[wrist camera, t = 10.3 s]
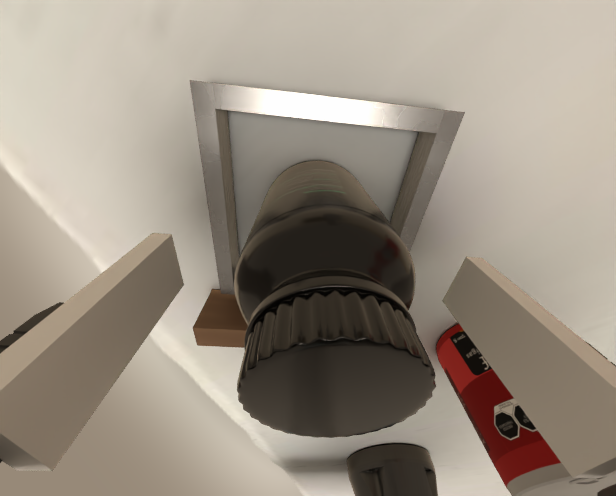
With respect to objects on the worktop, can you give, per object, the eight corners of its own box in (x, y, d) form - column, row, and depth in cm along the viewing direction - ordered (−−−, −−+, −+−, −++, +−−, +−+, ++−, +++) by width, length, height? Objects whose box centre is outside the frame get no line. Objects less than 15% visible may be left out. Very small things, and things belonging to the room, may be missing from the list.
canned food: (526, 312, 22) (697, 469, 12) (492, 361, 26) (599, 505, 16) (446, 314, 21) (555, 473, 12) (425, 363, 26) (494, 508, 16)
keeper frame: (381, 286, 19) (388, 303, 18) (228, 276, 19) (220, 293, 17) (443, 112, 13) (464, 112, 11) (206, 84, 12) (189, 80, 10)
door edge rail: (386, 315, 21) (402, 354, 18) (215, 305, 20) (197, 345, 17) (393, 300, 20) (411, 338, 17) (212, 289, 19) (192, 327, 16)
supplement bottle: (363, 247, 17) (448, 445, 7) (275, 255, 18) (236, 458, 7) (365, 152, 14) (545, 278, 4) (255, 165, 14) (126, 315, 4)
